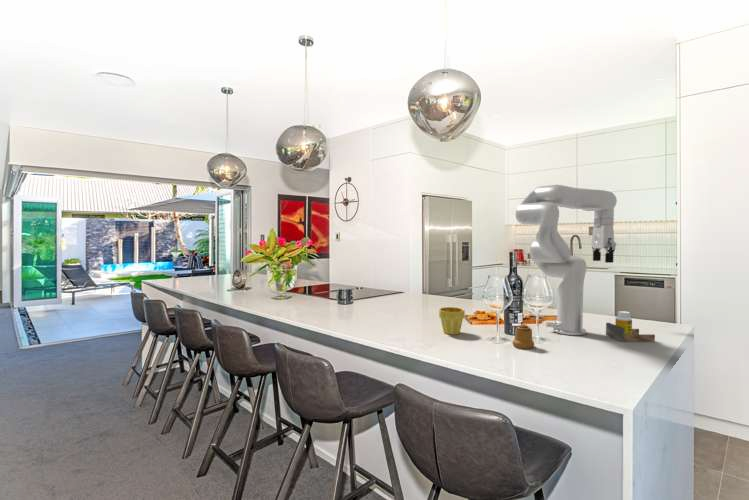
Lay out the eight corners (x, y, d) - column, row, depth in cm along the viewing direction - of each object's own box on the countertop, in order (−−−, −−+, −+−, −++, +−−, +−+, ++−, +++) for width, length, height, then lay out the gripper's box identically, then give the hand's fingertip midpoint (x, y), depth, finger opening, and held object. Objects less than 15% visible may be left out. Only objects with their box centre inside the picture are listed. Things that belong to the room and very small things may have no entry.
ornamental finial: (538, 348, 147) (520, 350, 145) (525, 343, 155) (508, 344, 153) (539, 326, 147) (520, 328, 145) (526, 322, 154) (508, 323, 152)
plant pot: (453, 337, 164) (454, 312, 163) (433, 332, 171) (433, 309, 171) (469, 332, 170) (469, 309, 170) (449, 328, 178) (449, 306, 178)
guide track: (637, 334, 167) (637, 322, 166) (654, 341, 157) (655, 328, 156) (605, 334, 166) (606, 322, 166) (620, 341, 156) (621, 328, 156)
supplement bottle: (629, 340, 158) (629, 314, 157) (613, 338, 162) (613, 312, 161) (633, 338, 161) (634, 312, 161) (617, 335, 165) (618, 310, 165)
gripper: (584, 223, 190) (584, 260, 191) (606, 222, 173) (605, 263, 173) (601, 223, 190) (600, 260, 191) (624, 222, 173) (623, 263, 174)
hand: (602, 261), depth 182 cm, fingers open, 9 cm apart
